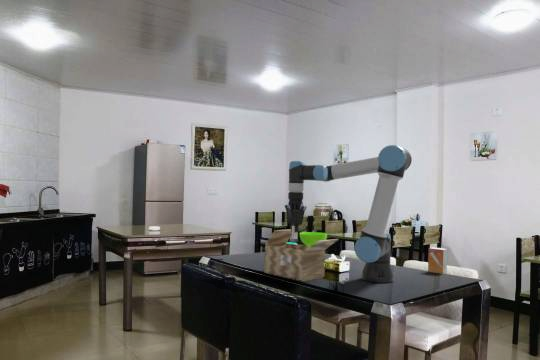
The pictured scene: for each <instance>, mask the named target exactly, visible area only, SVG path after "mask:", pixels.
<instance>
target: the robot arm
mask: <svg viewBox="0 0 540 360" xmlns="http://www.w3.org/2000/svg"><path fill="white" fill-rule="evenodd" d="M412 160H413V159H412V155H411V153H410V152H409V151H408V150H407V149H406V148H403V147H402V146H400V145H397V144H396V145H394V144H389V145H386V146H384V147H383V148H382V149H381V150H380V151H379V153H378V156H375V157H371V158H365V159H359V160H353V161H349V162H343V163H337V164H332V165H323V164H322V165H321V164H311V165H309V164H308V165H307V164H305V163H304V160H303V161H301V160H293V161H289V167H288V190H287V191H289V192H288V193H287V194H288V196H287V199H288V204H285V205H284V207H285V211H286V219H287V224H288V225H290V229H291V232H292V236H291V240H298V237H299V236H298V233H299V227H300V226H301V225H303V222H304V216H305V213H306V209H307V206H306V205H304V203H303V200H304V183H305V181H317V182H326V183H327V182H330V181H334V180H340V179H346V178H352V177H358V176H364V175H371V174H372V175H373V174H378V176H379V177H378V179H377V180H378V181H377V185H376V188H375V191H374V196H373V199H372V202H371V208H370V211H369V214H368V218H367V221H366V226H365V227H363V228H362V229H361V232H360V236H359V238H358V239H357V240H356V242H355V243H354V253H355V255H356V257H357V258H358V259H359V260H360V261H362V262H364V263H365V264H364V266H363V269H362V273H361V279H362V280H363V281H365V282H371V283H379V284H380V283H381V284H386V283H392V282H393V283H394V282H395V280H394V279H395V277H394V272H393V270H392V267H391V249H392V248H391V247H392V246H391V244H392V243H391V242H392V238H391V234H390V232H389V233H388V232H386V228H387V225H388V221H389V218H390V217H389V216H390V214H391V209H392V206H393V203H394V199H395V195H396V191H397V188H398V183H399V181H401V180H402V179H404V175H405V171H407V170H408V169H409V168H410V166H411V165H412Z"/></svg>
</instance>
